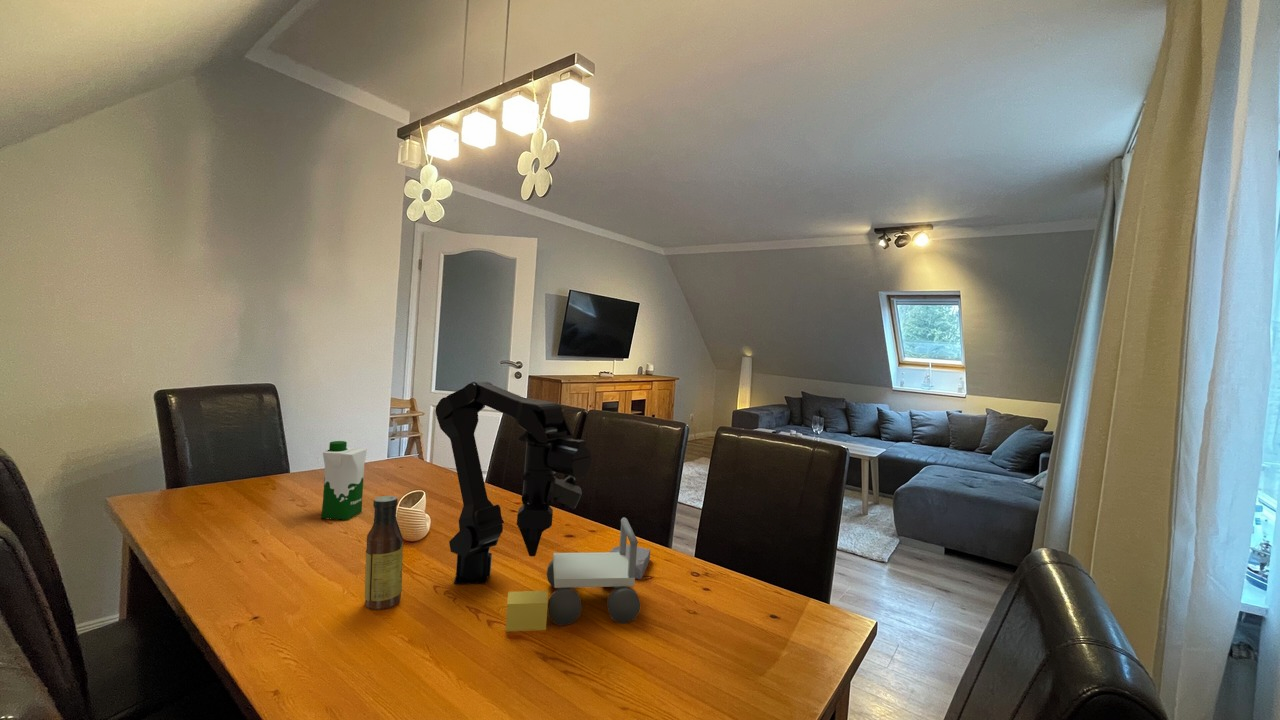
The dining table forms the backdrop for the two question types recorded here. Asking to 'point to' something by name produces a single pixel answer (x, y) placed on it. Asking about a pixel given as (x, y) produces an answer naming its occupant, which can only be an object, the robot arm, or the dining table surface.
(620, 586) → the trolley
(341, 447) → the milk carton
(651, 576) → the dining table surface
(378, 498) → the sauce bottle
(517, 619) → the chock
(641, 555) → the stone block
